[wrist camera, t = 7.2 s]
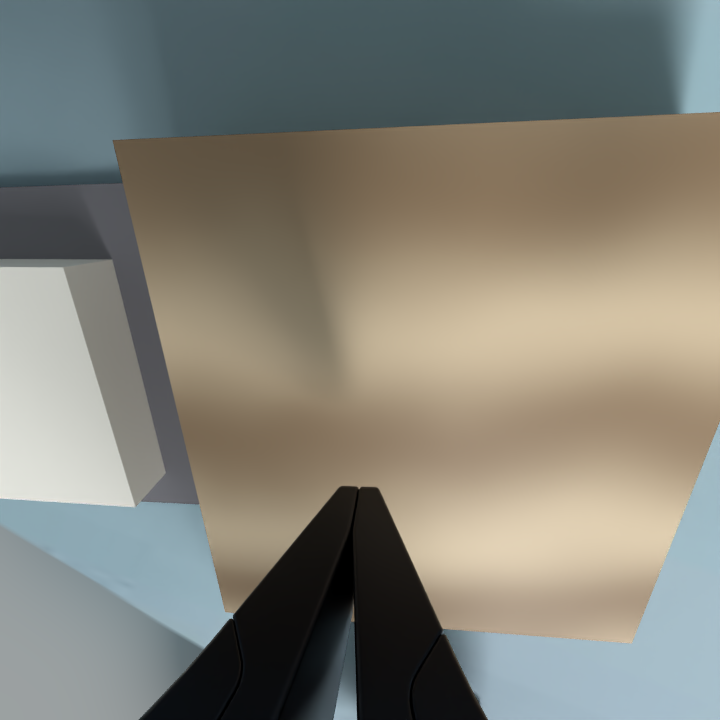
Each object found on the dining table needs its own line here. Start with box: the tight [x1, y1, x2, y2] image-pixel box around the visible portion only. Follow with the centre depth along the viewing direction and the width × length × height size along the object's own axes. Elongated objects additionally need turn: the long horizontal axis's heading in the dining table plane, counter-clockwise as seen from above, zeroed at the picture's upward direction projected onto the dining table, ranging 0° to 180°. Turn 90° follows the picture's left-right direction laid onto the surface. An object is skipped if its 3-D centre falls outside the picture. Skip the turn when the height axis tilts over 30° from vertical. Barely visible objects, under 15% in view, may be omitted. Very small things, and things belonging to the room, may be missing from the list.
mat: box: [0, 183, 199, 504], centre depth 14 cm, size 13×10×1 cm
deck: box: [113, 112, 720, 643], centre depth 12 cm, size 15×14×4 cm
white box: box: [0, 259, 166, 507], centre depth 13 cm, size 9×6×2 cm, turn 0°
